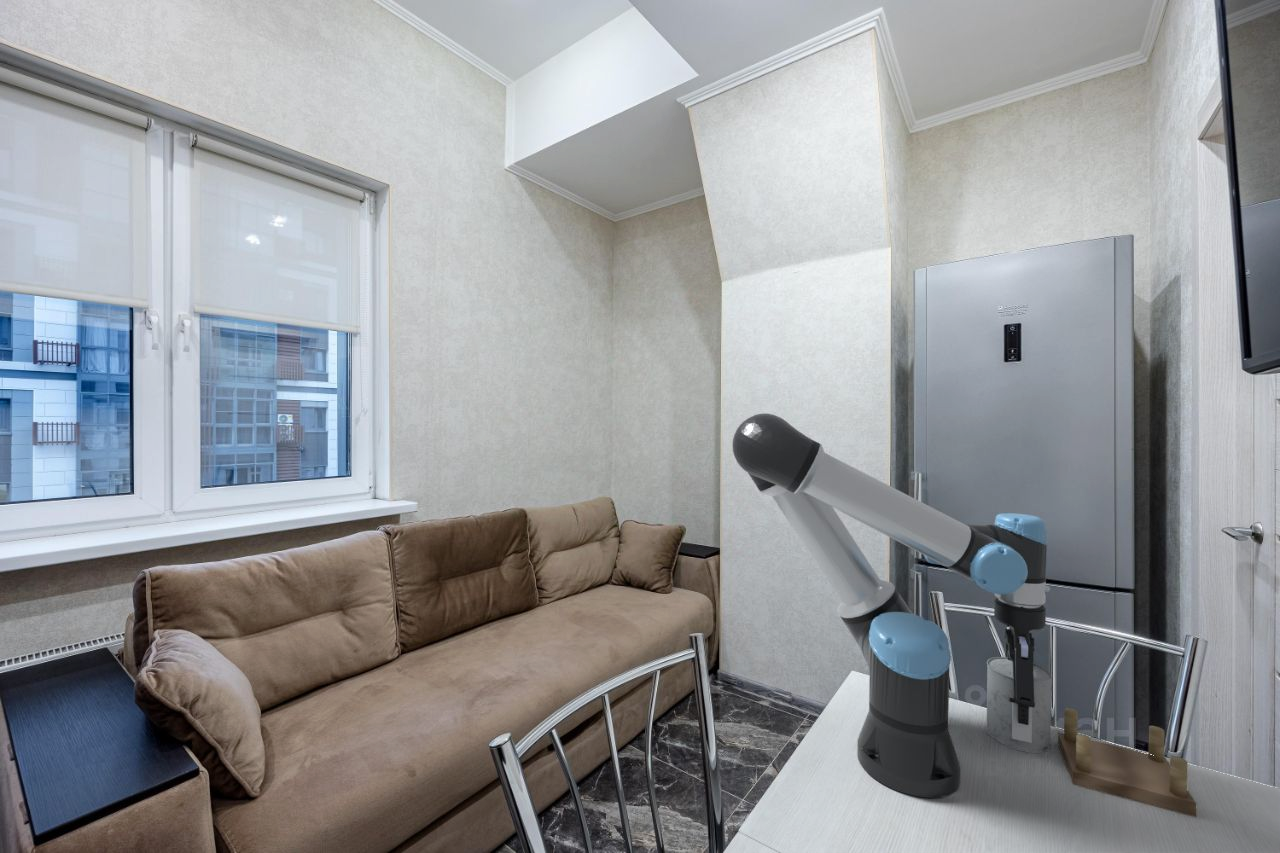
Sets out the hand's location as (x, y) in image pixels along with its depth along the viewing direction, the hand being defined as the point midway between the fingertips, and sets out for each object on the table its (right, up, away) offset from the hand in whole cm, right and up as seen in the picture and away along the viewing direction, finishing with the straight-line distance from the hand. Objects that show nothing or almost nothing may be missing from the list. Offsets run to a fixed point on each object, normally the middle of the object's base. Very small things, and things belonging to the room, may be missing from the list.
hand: (1017, 724), depth 96 cm
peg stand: (+9, -2, -11) cm, 14 cm away
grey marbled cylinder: (0, -2, 0) cm, 2 cm away
